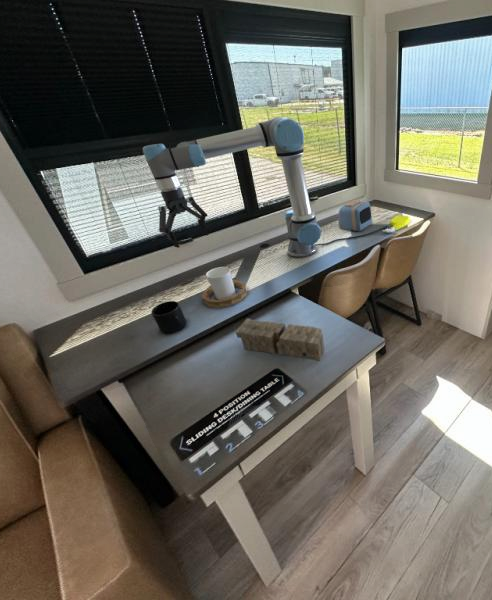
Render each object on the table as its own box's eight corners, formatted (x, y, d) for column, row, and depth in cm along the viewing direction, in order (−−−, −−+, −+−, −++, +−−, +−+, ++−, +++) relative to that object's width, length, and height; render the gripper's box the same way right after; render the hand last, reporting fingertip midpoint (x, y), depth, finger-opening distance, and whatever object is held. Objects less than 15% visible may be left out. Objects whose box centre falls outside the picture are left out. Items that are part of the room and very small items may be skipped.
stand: (245, 281, 149) (244, 276, 147) (248, 301, 134) (246, 295, 133) (205, 290, 144) (203, 285, 143) (204, 311, 130) (201, 305, 128)
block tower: (327, 347, 109) (252, 334, 115) (325, 328, 104) (247, 316, 111) (319, 363, 102) (240, 349, 109) (317, 344, 98) (234, 330, 104)
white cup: (214, 293, 142) (205, 270, 135) (236, 287, 145) (229, 264, 138) (215, 304, 134) (206, 280, 127) (238, 298, 137) (231, 274, 130)
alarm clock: (359, 233, 190) (358, 206, 181) (337, 228, 198) (335, 203, 189) (373, 224, 201) (372, 199, 192) (351, 220, 209) (350, 196, 200)
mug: (173, 339, 116) (163, 320, 111) (156, 329, 122) (146, 311, 117) (196, 325, 122) (187, 306, 117) (178, 316, 128) (169, 298, 123)
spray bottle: (411, 220, 201) (397, 235, 184) (395, 219, 206) (380, 233, 188) (411, 216, 199) (397, 230, 182) (395, 214, 204) (380, 228, 187)
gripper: (193, 180, 131) (211, 229, 142) (133, 197, 114) (159, 251, 126) (204, 181, 127) (221, 230, 139) (143, 199, 111) (169, 253, 122)
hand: (192, 240), depth 132 cm, fingers open, 13 cm apart
